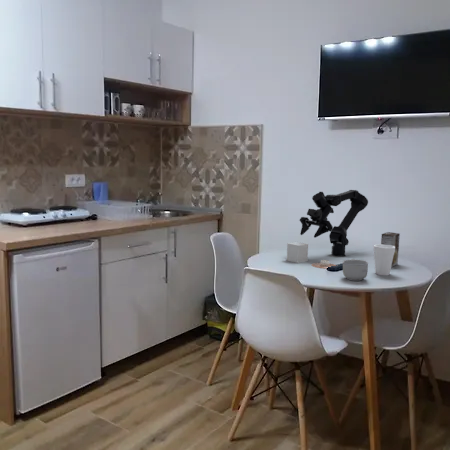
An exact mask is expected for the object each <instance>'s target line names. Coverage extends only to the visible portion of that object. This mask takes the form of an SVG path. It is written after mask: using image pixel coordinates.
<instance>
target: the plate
mask: <svg viewBox="0 0 450 450" xmlns="http://www.w3.org/2000/svg"><path fill="white" fill-rule="evenodd" d="M310 265H311V266H312V267H314V268H318V269H323V270H325V269H327V268H328V267H331V266H336V265H337V264H335V263H330V262H329V266H328V267H324V266H321V262H314V263H311V264H310ZM327 270H328V269H327Z"/></svg>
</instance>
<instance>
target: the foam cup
mask: <svg viewBox="0 0 450 450" xmlns="http://www.w3.org/2000/svg"><path fill="white" fill-rule="evenodd" d="M394 253H395V247H394V246H391V245H382V244H381V243H380V244H374V245H373V256H374V257H373V258H374V259H373V260H374V270H375V271H374V272H375V274H376V275H379V276H390V274H391V269H392V267H391V265H392V261H393V256H394Z"/></svg>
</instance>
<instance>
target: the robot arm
mask: <svg viewBox="0 0 450 450" xmlns="http://www.w3.org/2000/svg"><path fill="white" fill-rule="evenodd" d="M311 199H312V201H313V203H314V205H315V206H316V207H317V209H314V208H308V209H307V212H306V215H307V216H309V217H310V218H309V217H306V216H301V217H300V218H299V222H300V223H301V229H300V234H299V235H300V236H303V235H304V234H305V233H306V232H308V230H310V228H311V227H312V226H315V227H318V229H317V230H316V231H315V233H314V235H313V238H317V237H319V236H321V235H323V234H326V233H328V232H330V233H329V242H330V244H332V246H331V255H333V256H334V257H346V246H348V245H349V239H348V238H347V236H348V235H347V234H348V229H349V228H350V227H351V225H352V223H353V222H354V220H355V218H356V217H357V216H358V214H359V212H362V211H363V210H365V208H367V206H368V204H369V200H368V198H367V196H365V195H364V194H362V193H361V192H359V191H358V190H357V189H349V190H348V191H347V190H346V191H344V192H341V193H338V194H327V195H325V193H324V192H323V191H318V193H316V194H314V195H313V196H311ZM347 200H349V201H350V209H349V210H348V211H347V213H346V215H345V216H344V217H343V219H342V221H341V222H340V224H339V225H338V226H336V225H334V226H333V225H332V223H331V221H330V220H328V216H330V214H335V213H334V212H335V211H334V207H338V206H339V205H340V204H342V202H345V201H347Z"/></svg>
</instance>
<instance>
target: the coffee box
mask: <svg viewBox="0 0 450 450" xmlns="http://www.w3.org/2000/svg"><path fill="white" fill-rule="evenodd" d="M400 234H401V233H397V232H389V231H387V232H384V233H381V238H380V241H381V242H380V244H382V245H391V246H394V247H395V253H394V256H393V261H392V265H391V268H392V267H394V266H397V265H398V264H399V263H398V261H399V251H400V250H399V249H400V236H401V235H400Z"/></svg>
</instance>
